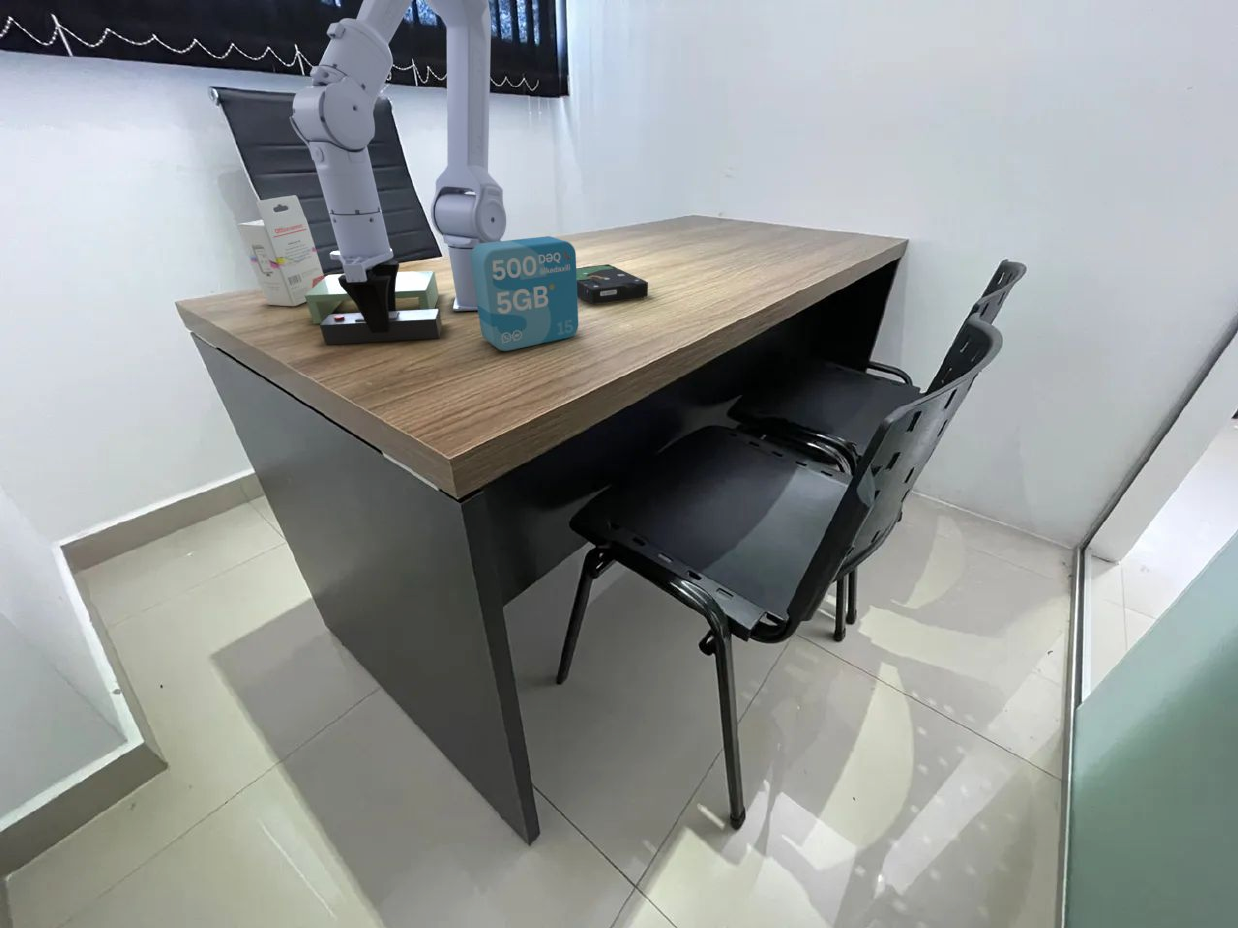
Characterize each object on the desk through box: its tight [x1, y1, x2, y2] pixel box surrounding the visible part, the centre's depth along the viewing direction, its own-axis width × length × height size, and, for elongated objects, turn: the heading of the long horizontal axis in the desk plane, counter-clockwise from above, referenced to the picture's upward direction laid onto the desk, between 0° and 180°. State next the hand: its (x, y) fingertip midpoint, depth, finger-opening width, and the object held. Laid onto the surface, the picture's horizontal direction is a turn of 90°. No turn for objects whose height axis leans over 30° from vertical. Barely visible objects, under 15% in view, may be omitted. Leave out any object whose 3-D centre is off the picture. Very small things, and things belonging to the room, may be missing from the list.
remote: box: [319, 308, 443, 346], centre depth 68 cm, size 14×4×3 cm, turn 101°
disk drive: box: [576, 263, 649, 305], centre depth 87 cm, size 10×3×15 cm
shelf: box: [305, 270, 440, 325], centre depth 77 cm, size 16×12×4 cm
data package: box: [470, 235, 579, 352], centre depth 64 cm, size 12×4×12 cm, turn 124°
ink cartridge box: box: [236, 194, 325, 307], centre depth 79 cm, size 9×5×15 cm, turn 168°
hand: (384, 325), depth 68 cm, fingers closed on remote, 4 cm apart
